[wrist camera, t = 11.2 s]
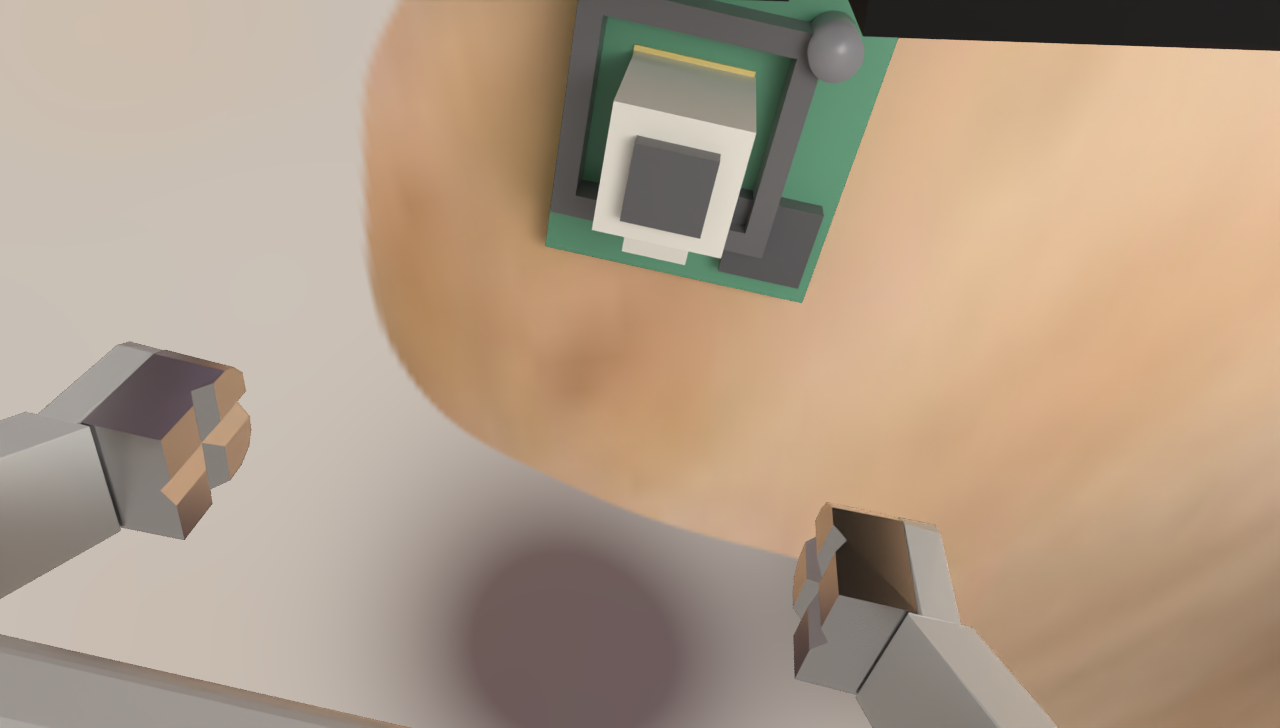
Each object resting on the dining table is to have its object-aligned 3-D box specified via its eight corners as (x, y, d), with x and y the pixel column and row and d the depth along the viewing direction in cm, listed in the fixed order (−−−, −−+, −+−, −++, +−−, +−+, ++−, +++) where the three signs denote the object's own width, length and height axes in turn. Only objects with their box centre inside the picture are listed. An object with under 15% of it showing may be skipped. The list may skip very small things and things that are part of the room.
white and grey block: (756, 77, 27) (756, 140, 22) (721, 205, 29) (715, 285, 25) (635, 50, 26) (610, 108, 22) (611, 180, 29) (585, 256, 25)
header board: (917, -42, 25) (936, -20, 23) (800, 287, 32) (804, 332, 30) (598, -116, 25) (580, -103, 22) (551, 231, 32) (533, 272, 30)
